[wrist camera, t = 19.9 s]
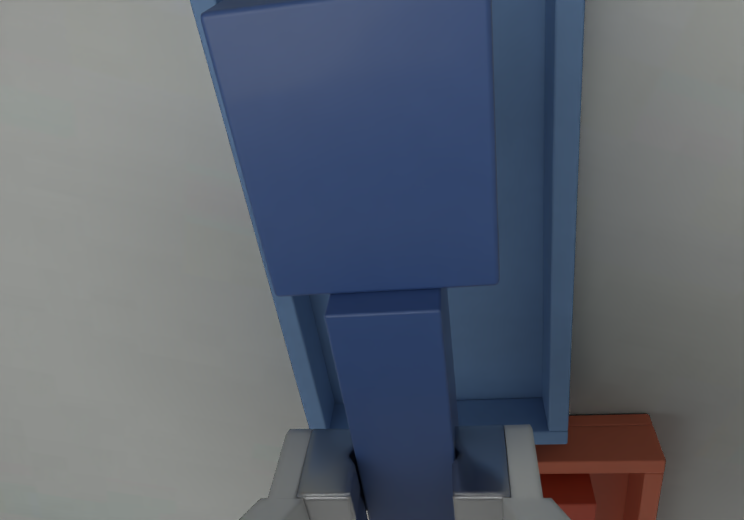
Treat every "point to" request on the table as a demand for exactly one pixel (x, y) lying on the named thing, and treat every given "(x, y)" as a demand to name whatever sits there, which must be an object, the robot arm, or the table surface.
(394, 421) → the blue stepped bar
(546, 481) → the red stepped bar
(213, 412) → the table surface
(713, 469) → the table surface
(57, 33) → the table surface
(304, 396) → the blue tray
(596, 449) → the red tray
